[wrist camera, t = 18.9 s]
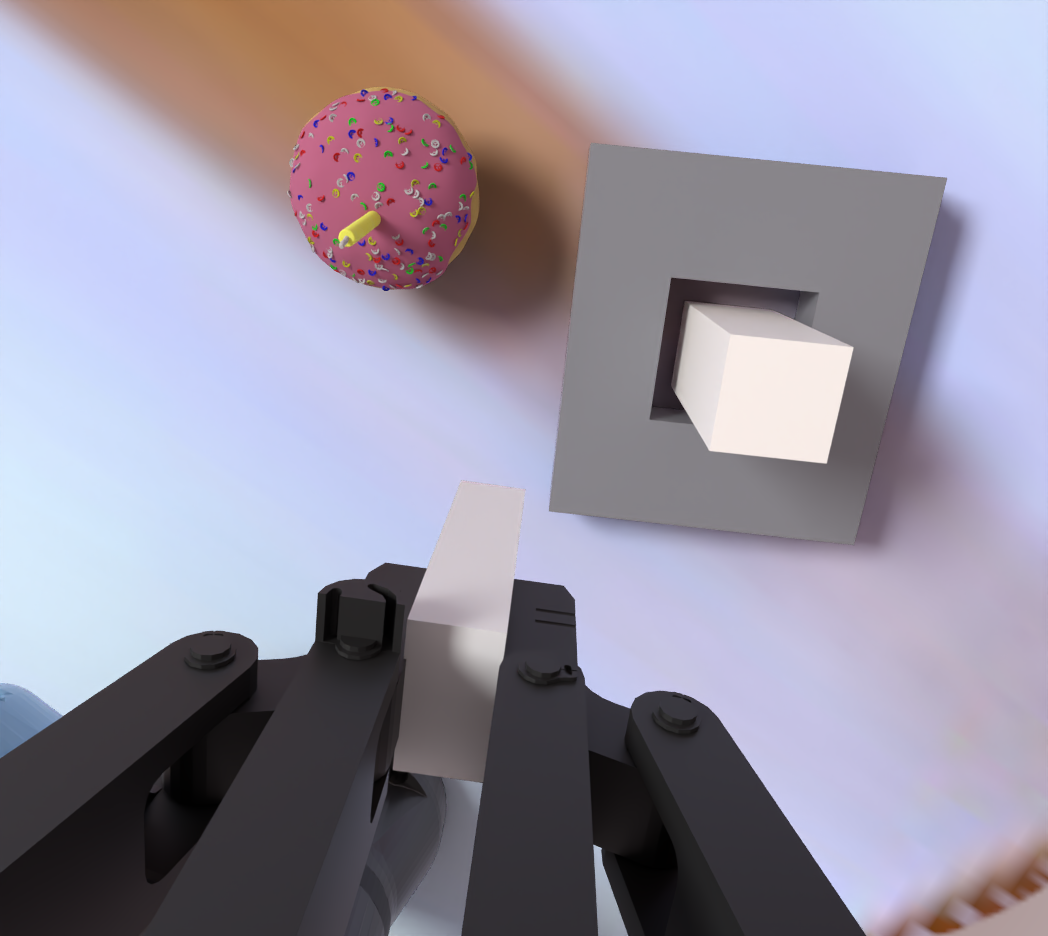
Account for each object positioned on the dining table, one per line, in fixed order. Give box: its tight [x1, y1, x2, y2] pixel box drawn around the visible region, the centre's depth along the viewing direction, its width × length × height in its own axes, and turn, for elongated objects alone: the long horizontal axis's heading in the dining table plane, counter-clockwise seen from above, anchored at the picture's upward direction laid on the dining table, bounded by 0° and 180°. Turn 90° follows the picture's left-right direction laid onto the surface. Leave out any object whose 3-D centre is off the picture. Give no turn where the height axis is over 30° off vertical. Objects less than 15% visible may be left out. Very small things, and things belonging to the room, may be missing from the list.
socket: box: [549, 143, 947, 545], centre depth 39 cm, size 18×16×3 cm
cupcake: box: [287, 87, 479, 291], centre depth 33 cm, size 9×8×12 cm
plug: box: [671, 301, 854, 464], centre depth 34 cm, size 4×4×12 cm
